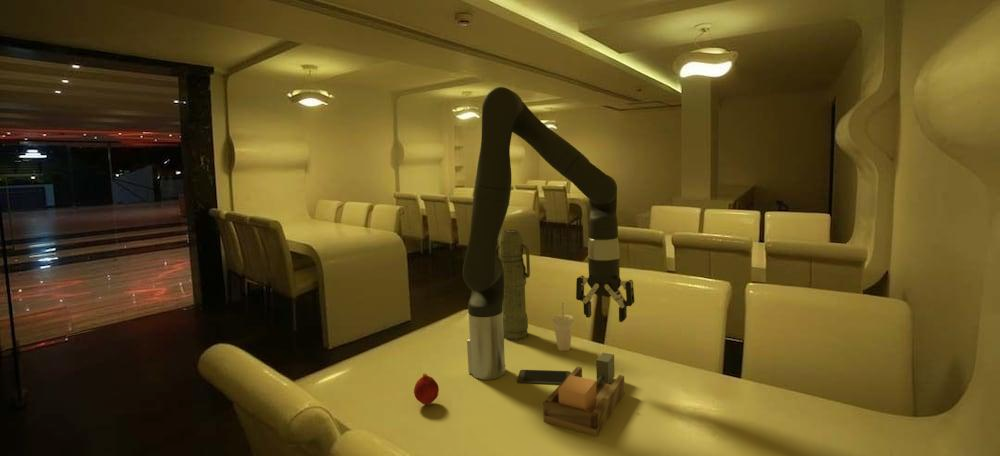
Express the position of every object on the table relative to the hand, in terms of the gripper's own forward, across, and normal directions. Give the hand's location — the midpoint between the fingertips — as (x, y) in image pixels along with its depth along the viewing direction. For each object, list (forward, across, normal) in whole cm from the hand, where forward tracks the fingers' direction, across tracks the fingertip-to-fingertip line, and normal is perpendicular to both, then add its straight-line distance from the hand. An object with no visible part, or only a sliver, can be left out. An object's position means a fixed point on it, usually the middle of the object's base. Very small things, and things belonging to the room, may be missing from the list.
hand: (605, 318), depth 115 cm
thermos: (+17, -37, +18) cm, 45 cm away
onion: (+16, -34, -30) cm, 48 cm away
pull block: (+16, 0, -10) cm, 19 cm away
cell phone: (+17, -15, -5) cm, 23 cm away
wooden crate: (+17, 0, -14) cm, 22 cm away
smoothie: (+17, -18, +15) cm, 29 cm away
